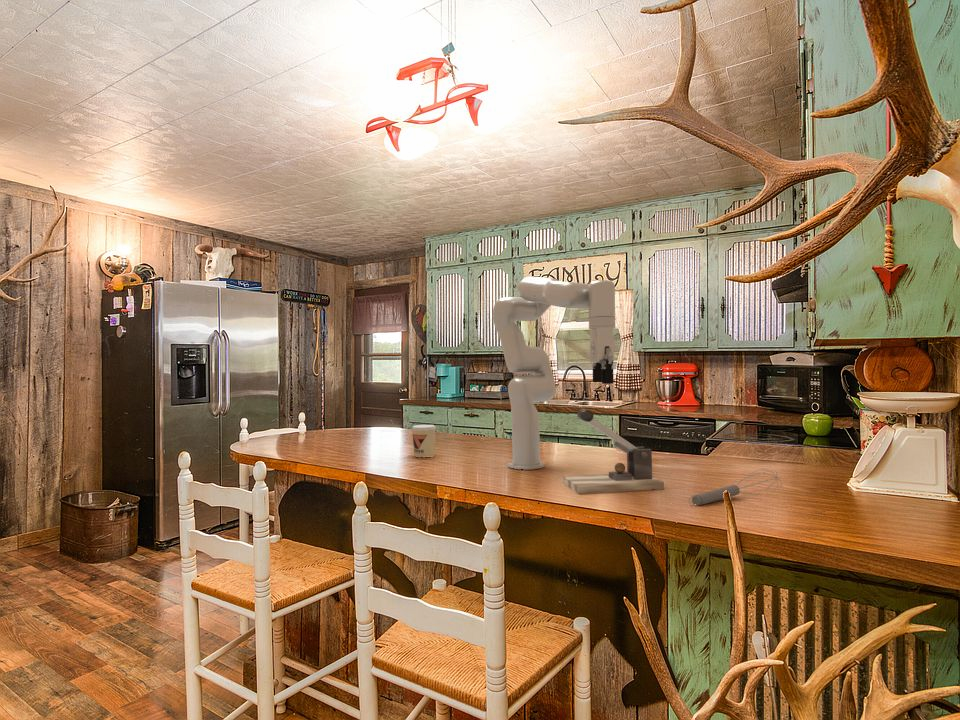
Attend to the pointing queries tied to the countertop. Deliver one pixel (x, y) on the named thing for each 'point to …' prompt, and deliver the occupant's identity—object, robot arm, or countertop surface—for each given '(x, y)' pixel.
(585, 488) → the nutcracker base
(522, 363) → the robot arm
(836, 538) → the countertop surface
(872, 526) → the countertop surface
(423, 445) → the coffee cup
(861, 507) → the countertop surface
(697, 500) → the kitchen whisk
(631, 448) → the nutcracker lever
